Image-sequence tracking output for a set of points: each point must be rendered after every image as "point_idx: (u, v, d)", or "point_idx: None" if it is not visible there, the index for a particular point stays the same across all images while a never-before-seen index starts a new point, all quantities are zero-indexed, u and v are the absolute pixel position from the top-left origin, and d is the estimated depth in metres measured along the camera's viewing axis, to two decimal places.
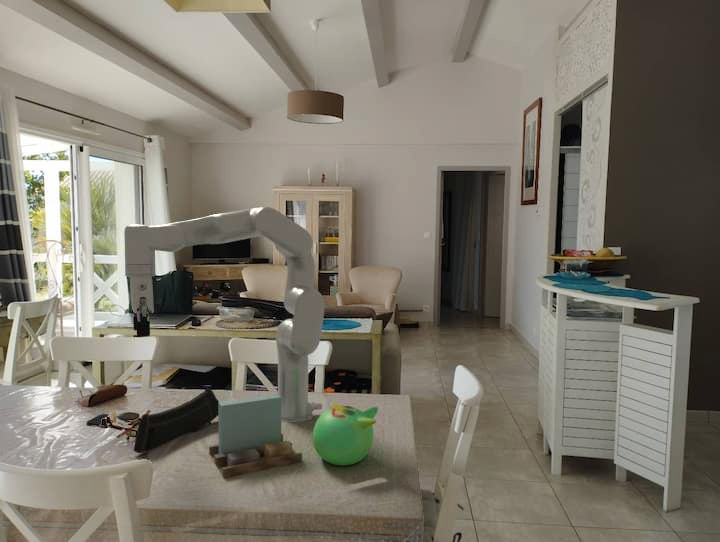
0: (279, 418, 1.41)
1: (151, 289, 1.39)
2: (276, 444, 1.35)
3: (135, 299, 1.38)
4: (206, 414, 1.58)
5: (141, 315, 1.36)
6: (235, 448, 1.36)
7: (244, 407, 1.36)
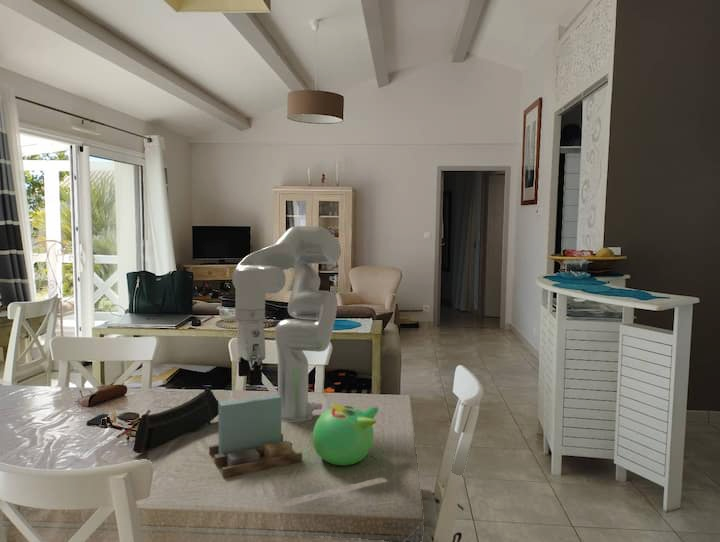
0: (279, 418, 1.41)
1: (263, 335, 1.34)
2: (276, 444, 1.35)
3: (248, 346, 1.32)
4: (205, 414, 1.58)
5: (256, 364, 1.30)
6: (235, 448, 1.36)
7: (244, 407, 1.36)
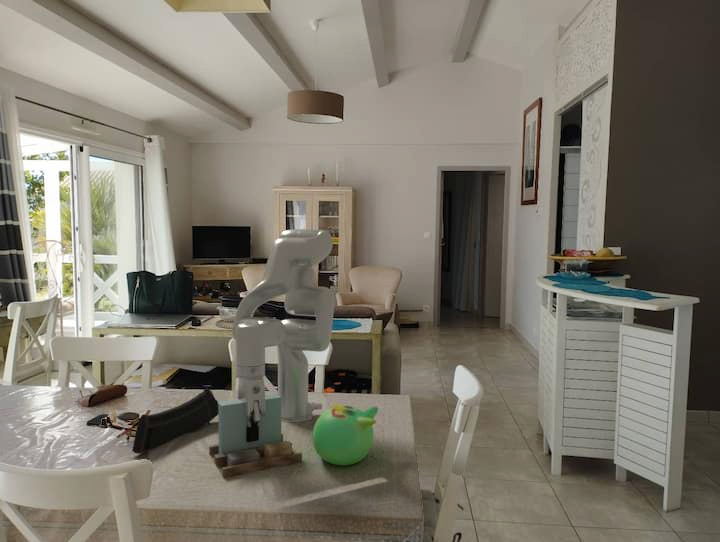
0: (279, 418, 1.41)
1: (264, 391, 1.35)
2: (276, 444, 1.35)
3: (249, 403, 1.33)
4: (204, 414, 1.57)
5: (253, 422, 1.34)
6: (235, 448, 1.36)
7: None
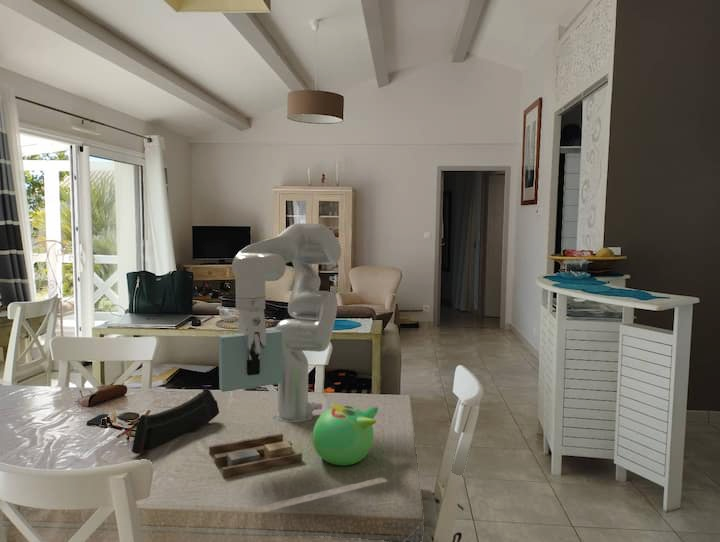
0: (280, 353, 1.40)
1: (264, 323, 1.34)
2: (276, 444, 1.35)
3: (249, 334, 1.32)
4: (204, 414, 1.57)
5: (253, 354, 1.33)
6: (236, 381, 1.35)
7: None
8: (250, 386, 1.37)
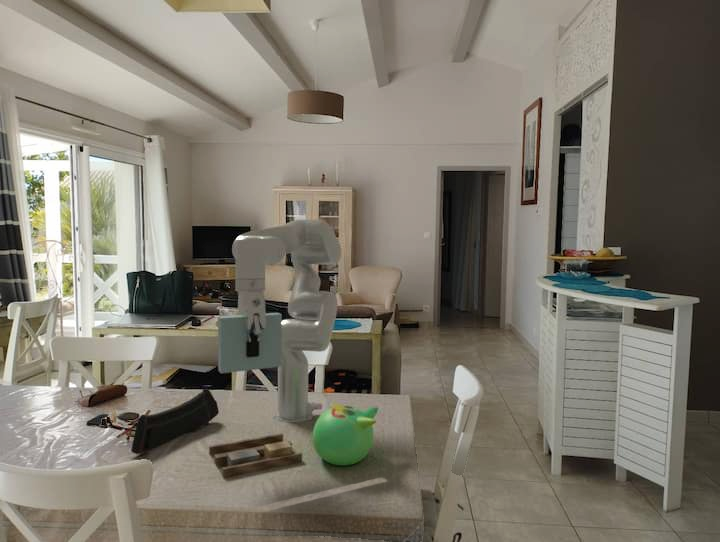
0: (279, 336, 1.39)
1: (264, 305, 1.33)
2: (276, 444, 1.35)
3: (249, 315, 1.31)
4: (204, 414, 1.57)
5: (253, 335, 1.32)
6: (235, 363, 1.34)
7: None
8: (249, 368, 1.36)
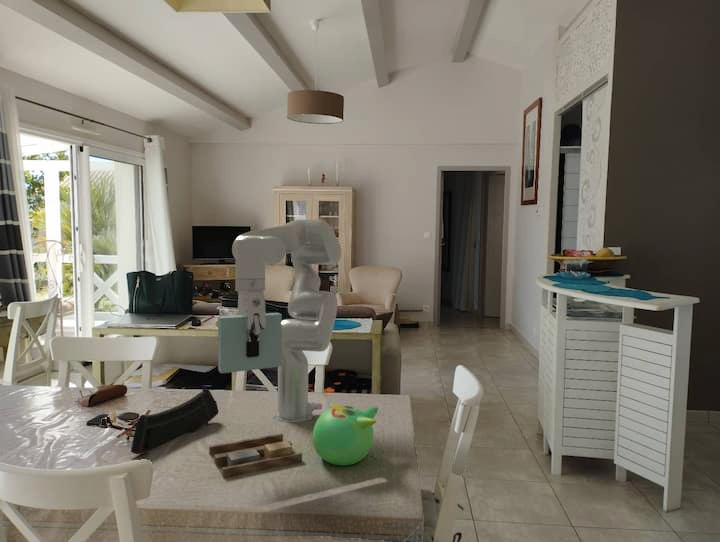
0: (279, 336, 1.39)
1: (264, 305, 1.33)
2: (276, 444, 1.35)
3: (249, 315, 1.31)
4: (203, 414, 1.57)
5: (253, 335, 1.32)
6: (235, 363, 1.34)
7: None
8: (249, 368, 1.36)
